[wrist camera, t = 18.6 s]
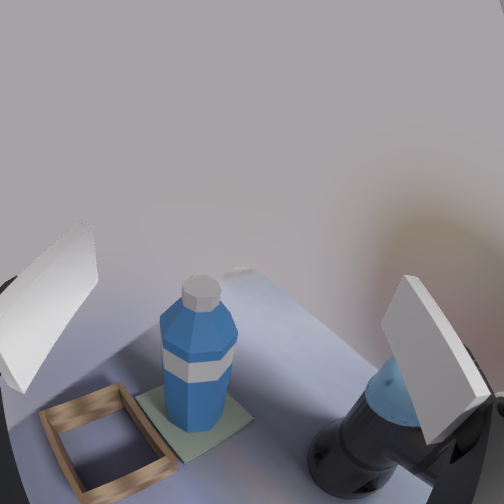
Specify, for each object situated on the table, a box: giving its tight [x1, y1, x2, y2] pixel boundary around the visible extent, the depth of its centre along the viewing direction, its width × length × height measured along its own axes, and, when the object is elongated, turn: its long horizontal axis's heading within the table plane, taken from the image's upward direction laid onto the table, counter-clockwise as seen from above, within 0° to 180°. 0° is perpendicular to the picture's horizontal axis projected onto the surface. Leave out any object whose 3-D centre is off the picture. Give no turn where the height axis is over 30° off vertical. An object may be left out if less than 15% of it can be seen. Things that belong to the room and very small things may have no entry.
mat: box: [135, 384, 254, 464], centre depth 43 cm, size 14×14×1 cm
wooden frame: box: [38, 381, 178, 504], centre depth 31 cm, size 15×15×6 cm
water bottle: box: [160, 276, 238, 433], centre depth 37 cm, size 9×9×25 cm
